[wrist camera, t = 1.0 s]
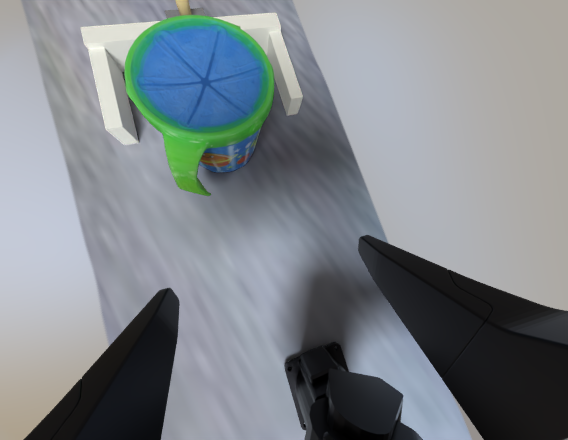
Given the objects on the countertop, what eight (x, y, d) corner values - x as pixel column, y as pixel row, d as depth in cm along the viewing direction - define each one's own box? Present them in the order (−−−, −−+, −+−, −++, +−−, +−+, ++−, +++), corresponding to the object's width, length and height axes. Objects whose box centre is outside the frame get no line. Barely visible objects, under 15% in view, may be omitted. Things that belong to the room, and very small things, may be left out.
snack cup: (204, 77, 26) (174, -34, 16) (282, 108, 27) (301, 23, 17) (151, 188, 22) (72, 136, 13) (242, 218, 23) (235, 194, 14)
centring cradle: (297, 114, 27) (313, 63, 20) (124, 145, 23) (66, 96, 16) (272, 40, 28) (279, -32, 21) (104, 57, 24) (42, -25, 17)
